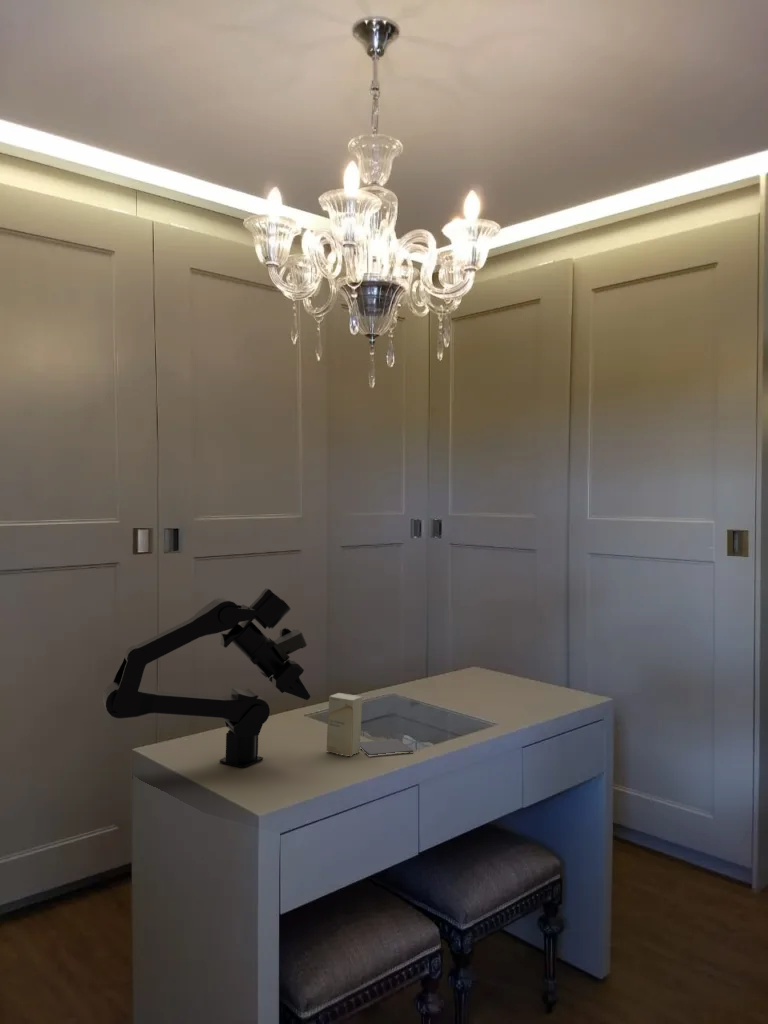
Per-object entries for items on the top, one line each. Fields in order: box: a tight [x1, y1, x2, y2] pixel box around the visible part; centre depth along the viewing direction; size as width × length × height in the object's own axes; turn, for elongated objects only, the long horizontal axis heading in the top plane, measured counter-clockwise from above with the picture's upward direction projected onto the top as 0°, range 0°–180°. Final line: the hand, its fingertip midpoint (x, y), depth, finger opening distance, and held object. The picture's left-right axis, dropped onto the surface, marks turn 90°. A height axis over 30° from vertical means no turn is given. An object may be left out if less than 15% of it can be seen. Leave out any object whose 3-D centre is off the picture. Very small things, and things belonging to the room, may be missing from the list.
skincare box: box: [325, 692, 363, 757], centre depth 166 cm, size 6×4×12 cm
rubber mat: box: [360, 738, 414, 756], centre depth 169 cm, size 10×9×1 cm
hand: (306, 696), depth 163 cm, fingers open, 4 cm apart
